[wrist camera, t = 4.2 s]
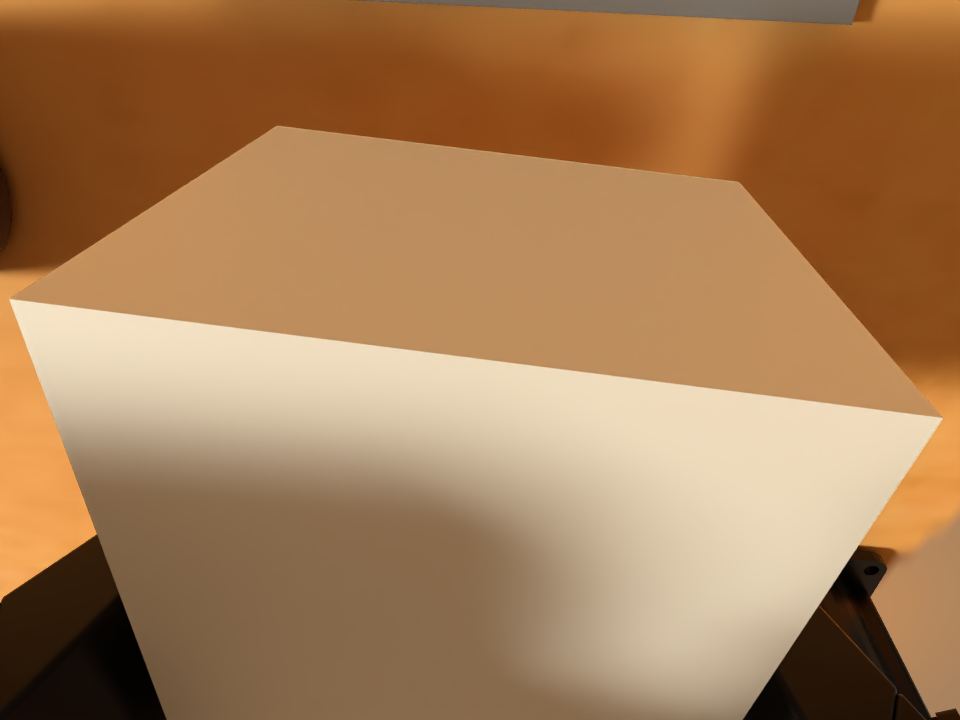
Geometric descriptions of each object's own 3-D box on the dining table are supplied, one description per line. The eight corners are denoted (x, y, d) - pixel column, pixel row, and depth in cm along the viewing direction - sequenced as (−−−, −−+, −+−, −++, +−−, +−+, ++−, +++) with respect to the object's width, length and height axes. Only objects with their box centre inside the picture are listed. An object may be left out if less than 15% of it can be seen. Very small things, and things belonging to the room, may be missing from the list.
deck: (738, 181, 7) (962, 440, 3) (595, 612, 12) (620, 925, 8) (277, 125, 7) (-17, 314, 4) (315, 574, 12) (208, 865, 8)
